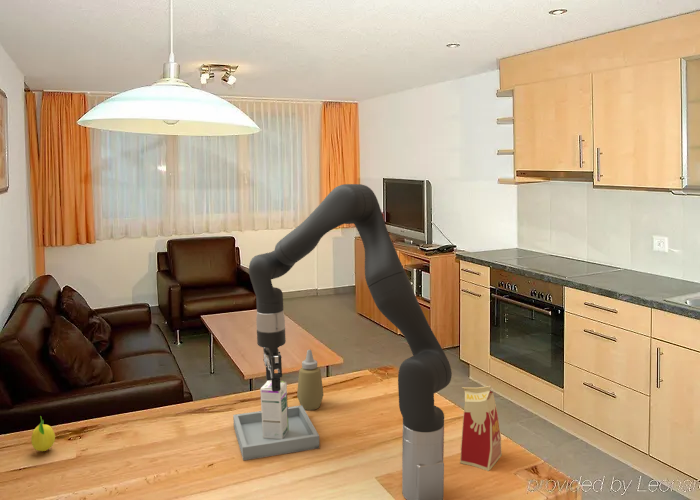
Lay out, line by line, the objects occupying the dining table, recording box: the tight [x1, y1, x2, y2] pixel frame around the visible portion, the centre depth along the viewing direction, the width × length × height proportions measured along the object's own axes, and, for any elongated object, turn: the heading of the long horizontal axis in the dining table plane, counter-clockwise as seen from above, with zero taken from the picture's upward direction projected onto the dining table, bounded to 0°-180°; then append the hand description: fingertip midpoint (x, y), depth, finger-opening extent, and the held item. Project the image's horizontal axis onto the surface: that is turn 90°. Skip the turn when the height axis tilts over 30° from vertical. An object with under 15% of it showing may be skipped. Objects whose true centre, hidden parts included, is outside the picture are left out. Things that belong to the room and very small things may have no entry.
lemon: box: [30, 415, 56, 452], centre depth 157 cm, size 7×6×10 cm
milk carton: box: [459, 385, 503, 472], centre depth 151 cm, size 9×9×20 cm
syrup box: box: [259, 379, 289, 439], centre depth 164 cm, size 6×6×14 cm
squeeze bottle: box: [296, 349, 324, 411], centre depth 183 cm, size 8×8×18 cm
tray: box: [232, 405, 320, 461], centre depth 165 cm, size 20×20×4 cm
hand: (273, 385), depth 163 cm, fingers open, 8 cm apart
